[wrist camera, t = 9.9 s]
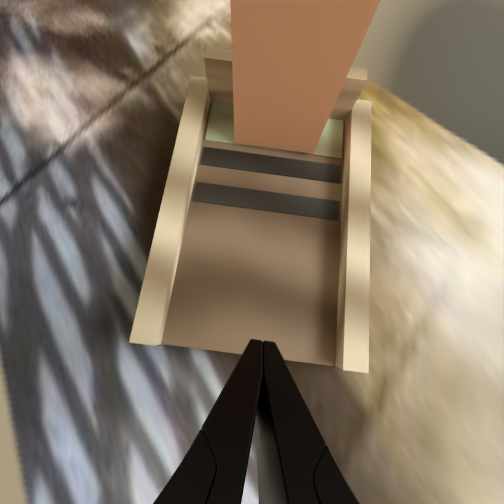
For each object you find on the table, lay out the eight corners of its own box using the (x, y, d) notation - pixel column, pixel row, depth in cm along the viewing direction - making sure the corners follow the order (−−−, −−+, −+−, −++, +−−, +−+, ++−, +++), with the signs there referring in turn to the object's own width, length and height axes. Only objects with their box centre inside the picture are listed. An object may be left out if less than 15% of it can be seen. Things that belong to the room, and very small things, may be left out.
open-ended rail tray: (351, 366, 18) (392, 382, 13) (143, 339, 18) (108, 346, 13) (357, 124, 23) (389, 71, 18) (196, 101, 23) (184, 42, 18)
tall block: (313, 153, 20) (412, -74, 9) (234, 142, 20) (227, -101, 9) (315, 120, 21) (409, -129, 9) (239, 110, 21) (240, -154, 9)
